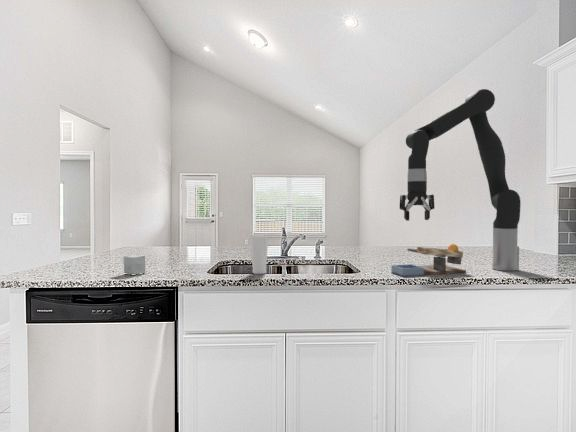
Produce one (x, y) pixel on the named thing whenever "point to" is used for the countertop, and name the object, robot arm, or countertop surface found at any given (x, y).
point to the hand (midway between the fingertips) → (416, 220)
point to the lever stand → (440, 267)
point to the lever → (441, 254)
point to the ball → (453, 247)
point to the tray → (407, 270)
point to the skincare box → (134, 264)
